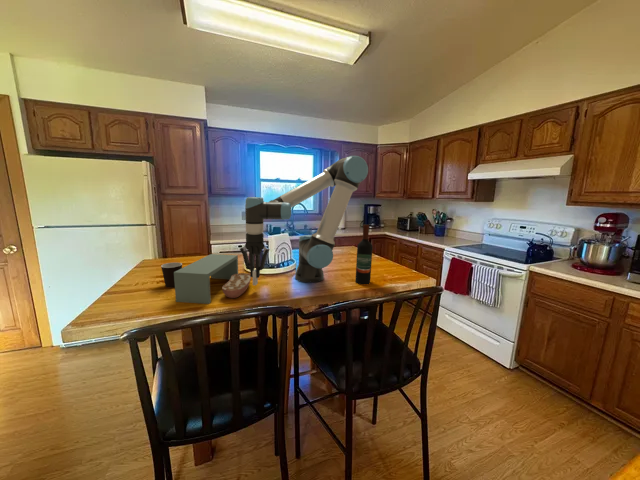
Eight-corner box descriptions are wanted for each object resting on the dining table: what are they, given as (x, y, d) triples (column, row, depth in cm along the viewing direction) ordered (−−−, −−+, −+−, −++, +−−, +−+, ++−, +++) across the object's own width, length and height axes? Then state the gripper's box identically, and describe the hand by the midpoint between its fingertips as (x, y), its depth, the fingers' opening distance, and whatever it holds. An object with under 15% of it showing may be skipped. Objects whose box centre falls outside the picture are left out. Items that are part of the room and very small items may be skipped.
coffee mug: (174, 289, 123) (173, 268, 121) (158, 287, 124) (156, 266, 123) (191, 281, 134) (190, 261, 132) (176, 279, 136) (174, 260, 134)
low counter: (238, 278, 139) (237, 255, 137) (209, 303, 109) (207, 274, 107) (212, 277, 140) (211, 253, 138) (175, 301, 110) (173, 272, 108)
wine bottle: (371, 281, 141) (375, 224, 136) (368, 285, 135) (371, 226, 129) (357, 279, 144) (361, 223, 139) (353, 283, 138) (356, 224, 132)
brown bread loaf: (234, 282, 134) (233, 272, 133) (254, 282, 135) (254, 273, 134) (219, 301, 112) (219, 290, 111) (244, 301, 112) (243, 290, 112)
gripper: (271, 232, 121) (271, 282, 125) (243, 230, 122) (244, 280, 126) (267, 235, 114) (267, 288, 118) (236, 233, 115) (238, 286, 119)
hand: (255, 284), depth 122 cm, fingers closed
